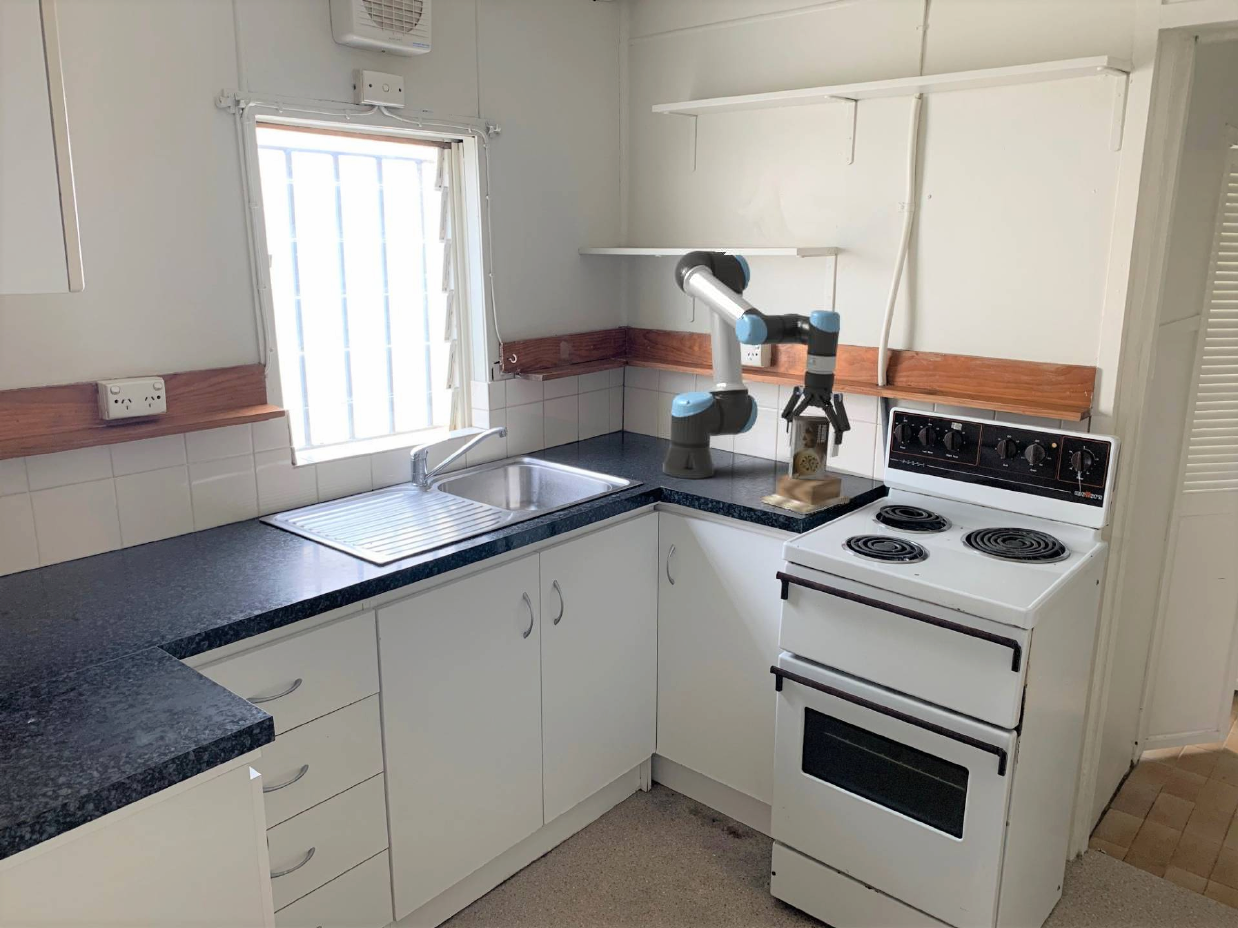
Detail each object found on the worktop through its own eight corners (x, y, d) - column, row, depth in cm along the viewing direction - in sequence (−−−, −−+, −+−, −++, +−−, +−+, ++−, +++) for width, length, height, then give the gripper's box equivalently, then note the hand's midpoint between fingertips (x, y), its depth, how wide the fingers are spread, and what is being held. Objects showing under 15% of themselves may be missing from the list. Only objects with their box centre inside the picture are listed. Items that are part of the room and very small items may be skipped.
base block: (776, 495, 245) (778, 477, 244) (806, 487, 254) (807, 470, 252) (810, 504, 237) (812, 486, 236) (839, 496, 246) (841, 478, 245)
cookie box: (821, 474, 248) (827, 416, 244) (825, 480, 242) (831, 420, 238) (787, 472, 249) (792, 414, 245) (790, 478, 242) (795, 419, 238)
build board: (761, 502, 243) (761, 496, 243) (806, 490, 257) (806, 484, 256) (804, 515, 234) (805, 509, 233) (849, 502, 247) (849, 496, 247)
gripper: (772, 365, 243) (765, 443, 249) (853, 379, 226) (844, 463, 231) (789, 363, 248) (782, 439, 254) (870, 377, 231) (860, 458, 236)
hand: (812, 451), depth 243 cm, fingers open, 13 cm apart
